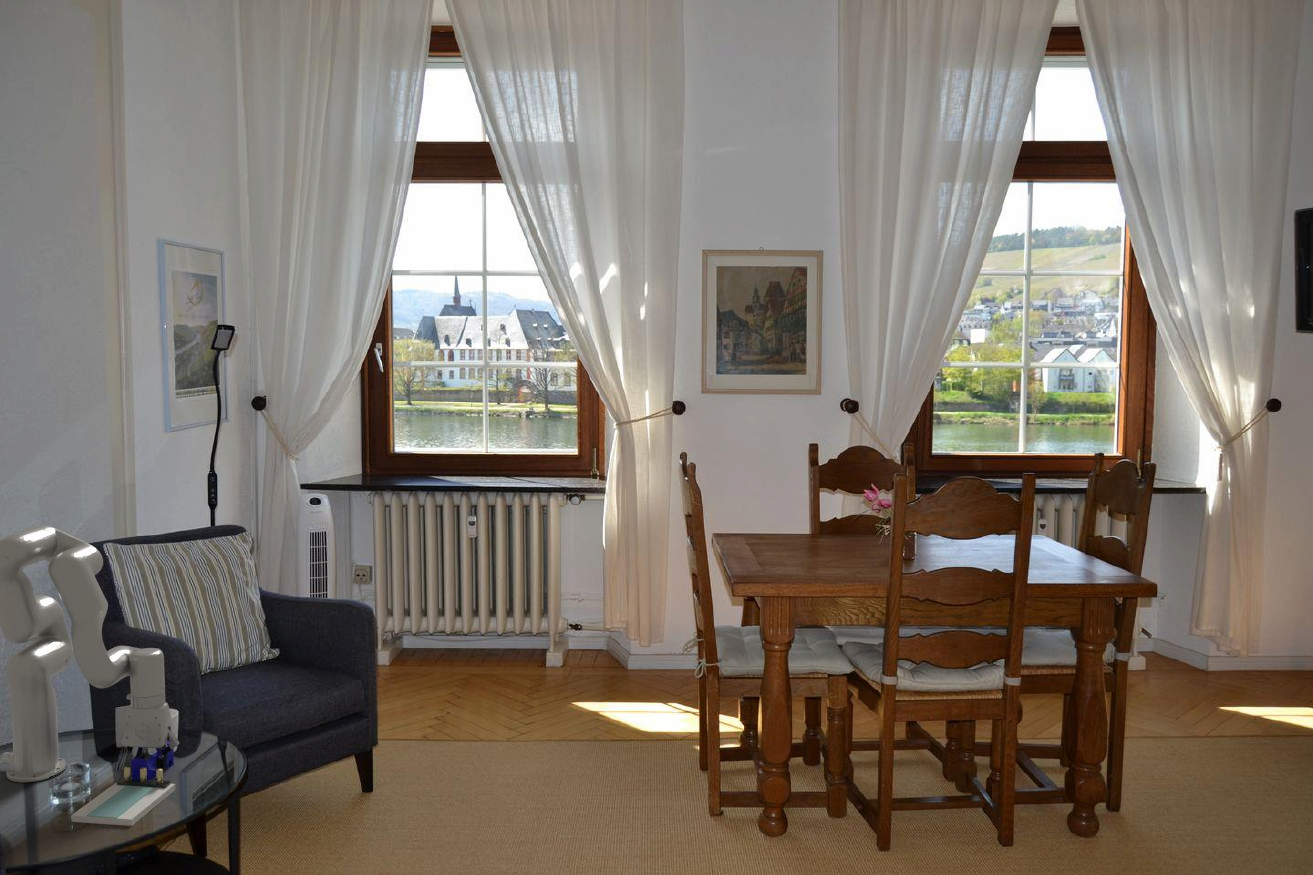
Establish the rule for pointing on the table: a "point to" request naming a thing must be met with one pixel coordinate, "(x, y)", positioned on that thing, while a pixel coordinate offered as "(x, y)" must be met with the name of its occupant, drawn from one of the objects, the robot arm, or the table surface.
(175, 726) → the white cup
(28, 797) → the table surface
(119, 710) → the grey box
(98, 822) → the board
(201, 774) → the table surface
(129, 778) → the coat peg rack
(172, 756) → the blue curved stepped piece
